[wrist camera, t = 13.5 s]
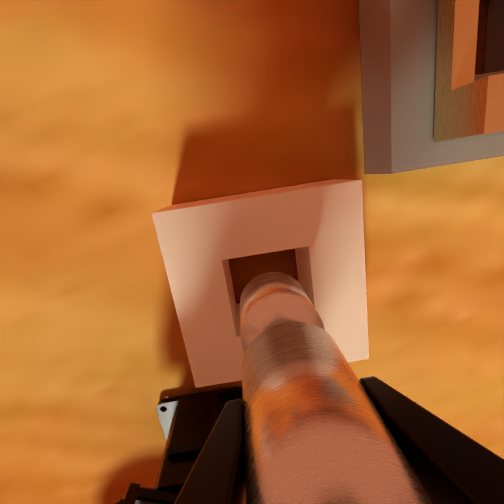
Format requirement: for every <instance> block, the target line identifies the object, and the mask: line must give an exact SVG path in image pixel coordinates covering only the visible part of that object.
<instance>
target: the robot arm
mask: <svg viewBox="0 0 504 504" xmlns="http://www.w3.org/2000/svg"><path fill="white" fill-rule="evenodd" d="M359 382H360V383H361V385H362V386H363V388H364V390H365V391H366V393H367V395H368V396H369V398H370V400H371V401H372V403H373V405H374V406H375V408H376V409H377V411H378V413H379V414H380V416H381V418H382V419H383V421H384V423H385V424H386V426H387V428H388V429H389V431H390V432H391V434H392V436H393V437H394V439H395V441H396V442H397V444H398V446H399V447H400V449H401V451H402V452H403V454H404V455H405V457H406V459H407V460H408V462H409V464H410V465H411V467H412V469H413V470H414V472H415V474H416V475H417V477H418V478H419V480H420V482H421V483H422V485H423V487H424V488H425V490H426V492H427V493H428V495H429V497H430V498H431V500H432V502H433V503H434V504H504V459H502V458H501V457H499V456H498V455H496V454H494V453H493V452H491V451H490V450H488V449H487V448H485V447H484V446H482V445H481V444H479V443H477V442H476V441H474V440H473V439H471V438H470V437H468V436H467V435H465V434H463V433H462V432H460V431H459V430H457V429H456V428H454V427H453V426H451V425H449V424H448V423H446V422H445V421H443V420H442V419H440V418H439V417H437V416H435V415H434V414H432V413H431V412H429V411H428V410H426V409H425V408H423V407H421V406H420V405H418V404H417V403H415V402H414V401H412V400H411V399H409V398H407V397H406V396H404V395H403V394H401V393H400V392H398V391H397V390H395V389H393V388H392V387H390V386H389V385H387V384H386V383H384V382H383V381H381V380H379V379H378V378H376V377H374V376H371V377H365V378H361V379H360V380H359ZM236 394H240V395H236ZM162 406H165V407H162ZM157 413H158V416H159V419H160V422H161V426H162V429H163V432H164V435H165V439H166V445H165V449H164V453H163V457H162V460H161V464H160V468H159V472H158V475H157V479H156V483H155V487H154V489H152V488H146V487H140V485H141V484H136V483H131V484H130V486H129V489H128V492H127V495H126V497H125V499H121V500H120V502H117V503H115V504H246V487H245V449H244V416H243V389H242V387H233V388H227V389H221V390H215V391H209V392H203V393H197V394H191V395H185V396H179V397H173V398H167V399H162V400H160V401H159V403H158V405H157Z"/></svg>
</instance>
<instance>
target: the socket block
mask: <svg viewBox="0 0 504 504" xmlns="http://www.w3.org/2000/svg"><path fill="white" fill-rule="evenodd" d="M358 1H359V29H360V56H361V84H362V111H363V139H364V167H365V174H392V173H398V172H405V171H411V170H417V169H424V168H430V167H436V166H442V165H449V164H455V163H461V162H468V161H474V160H480V159H487V158H493V157H499V156H504V131H503V132H496V133H490V134H483V135H477V136H471V137H464V138H458V139H452V140H445V141H439V142H434V116H435V83H436V49H437V16H438V0H358ZM503 73H504V0H489V5H488V19H487V32H486V46H485V60H484V74H478V75H475V76H474V81H477V80H479V79H482V78H484V77H487V76H490V75H496V74H503Z"/></svg>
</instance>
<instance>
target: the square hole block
mask: <svg viewBox="0 0 504 504" xmlns="http://www.w3.org/2000/svg"><path fill="white" fill-rule="evenodd" d="M152 217H153V221H154V225H155V229H156V233H157V237H158V241H159V245H160V249H161V253H162V257H163V261H164V265H165V269H166V273H167V277H168V280H169V284H170V288H171V292H172V296H173V300H174V304H175V308H176V312H177V316H178V320H179V324H180V328H181V332H182V336H183V340H184V344H185V348H186V352H187V356H188V360H189V363H190V367H191V371H192V375H193V379H194V383H195V387H196V388H198V387H204V386H210V385H216V384H222V383H228V382H234V381H240V380H242V361H243V357H244V354H245V353H244V351H243V348H242V344H241V323H240V303H238V304H236V299H235V294H234V288H233V283H232V278H231V272H230V267H229V261H228V259H232V258H239V257H245V256H251V255H257V254H263V253H270V252H276V251H282V250H288V249H294V248H295V255H296V264H297V273H298V281H299V283H300V285H301V286H302V288H303V289H304V291H305V293H306V294H307V296H308V298H309V299H310V301H311V303H312V304H313V306H314V308H315V309H316V311H317V312H318V314H319V316H320V317H321V319H322V321H323V324H324V329H325V331H326V332H327V333H328V334H329V335H330V336H331V337H332V338H333V339H334V341H335V342H336V344H337V345H338V347H339V349H340V350H341V352H342V354H343V355H344V357H345V358H346V360H347V362H353V361H359V360H365V359H369V350H368V324H367V299H366V273H365V248H364V223H363V197H362V180H343V179H331V180H325V181H319V182H312V183H306V184H300V185H294V186H287V187H281V188H275V189H268V190H262V191H256V192H249V193H243V194H237V195H230V196H224V197H218V198H212V199H205V200H199V201H193V202H186V203H180V204H174V205H170V206H167V207H165V208H163V209H160V210H158V211H156V212H153V213H152Z"/></svg>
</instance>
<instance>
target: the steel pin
mask: <svg viewBox="0 0 504 504" xmlns="http://www.w3.org/2000/svg"><path fill="white" fill-rule="evenodd" d="M240 323H241V344H242V348H243V351H244V353H245V354H244V357H243V361H242V389H243V416H244V449H245V487H246V504H434V503H433V502H432V500H431V498H430V497H429V495H428V493H427V492H426V490H425V488H424V487H423V485H422V483H421V482H420V480H419V478H418V477H417V475H416V474H415V472H414V470H413V469H412V467H411V465H410V464H409V462H408V460H407V459H406V457H405V455H404V454H403V452H402V451H401V449H400V447H399V446H398V444H397V442H396V441H395V439H394V437H393V436H392V434H391V432H390V431H389V429H388V428H387V426H386V424H385V423H384V421H383V419H382V418H381V416H380V414H379V413H378V411H377V409H376V408H375V406H374V405H373V403H372V401H371V400H370V398H369V396H368V395H367V393H366V391H365V390H364V388H363V386H362V385H361V383H360V382H359V380H358V378H357V377H356V375H355V373H354V372H353V370H352V368H351V367H350V365H349V363H348V362H347V360H346V358H345V357H344V355H343V354H342V352H341V350H340V349H339V347H338V345H337V344H336V342H335V341H334V339H333V338H332V337H331V336H330V335H329V334H328V333H327V332H326V331H325V329H324V324H323V321H322V319H321V317H320V316H319V314H318V312H317V311H316V309H315V308H314V306H313V304H312V303H311V301H310V299H309V298H308V296H307V294H306V293H305V291H304V289H303V288H302V286H301V285H300V283H299V282H298V281H297V280H296V279H295V278H293V277H292V276H290V275H288V274H285V273H282V272H267V273H263V274H260V275H258V276H256V277H255V278H253V279H252V280H251V281H250V282H249V283H248V284H247V285H246V286H245V288H244V290H243V292H242V294H241V298H240Z"/></svg>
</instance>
